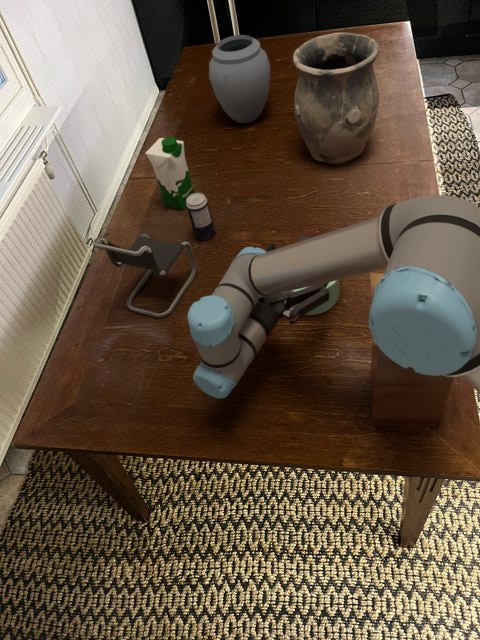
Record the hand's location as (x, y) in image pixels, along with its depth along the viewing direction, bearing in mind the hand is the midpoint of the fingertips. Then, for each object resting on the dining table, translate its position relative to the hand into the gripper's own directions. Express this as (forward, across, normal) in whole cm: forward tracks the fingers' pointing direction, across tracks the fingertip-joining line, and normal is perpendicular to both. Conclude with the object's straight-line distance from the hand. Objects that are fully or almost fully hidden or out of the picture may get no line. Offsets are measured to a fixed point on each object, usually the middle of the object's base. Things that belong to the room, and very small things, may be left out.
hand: (301, 255), depth 112 cm
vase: (+65, -55, -14) cm, 86 cm away
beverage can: (+10, -35, -14) cm, 39 cm away
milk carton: (+19, -51, -14) cm, 56 cm away
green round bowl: (+2, 0, -14) cm, 14 cm away
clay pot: (+56, -18, -14) cm, 61 cm away
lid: (+2, 0, -6) cm, 7 cm away
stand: (-15, +29, -14) cm, 36 cm away
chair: (-12, -34, -14) cm, 39 cm away
